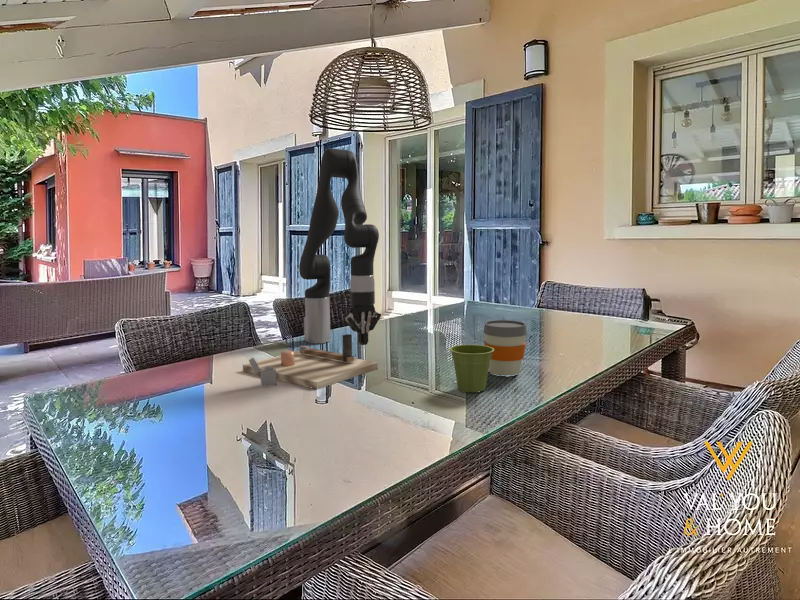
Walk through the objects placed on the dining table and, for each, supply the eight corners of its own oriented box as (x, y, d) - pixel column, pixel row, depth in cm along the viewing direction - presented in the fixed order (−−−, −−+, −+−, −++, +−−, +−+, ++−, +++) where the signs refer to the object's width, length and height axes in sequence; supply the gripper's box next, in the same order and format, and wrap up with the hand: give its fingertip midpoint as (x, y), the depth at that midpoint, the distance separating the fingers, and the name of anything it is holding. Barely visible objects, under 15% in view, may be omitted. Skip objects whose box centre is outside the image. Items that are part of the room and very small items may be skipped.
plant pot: (500, 387, 146) (501, 346, 144) (482, 399, 136) (483, 355, 135) (461, 381, 152) (461, 342, 151) (441, 391, 142) (441, 350, 141)
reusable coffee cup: (494, 365, 169) (495, 318, 167) (532, 371, 161) (533, 322, 159) (475, 374, 159) (476, 324, 157) (515, 381, 151) (516, 329, 149)
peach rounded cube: (278, 365, 163) (277, 352, 163) (288, 362, 167) (288, 349, 166) (287, 367, 161) (286, 354, 160) (297, 364, 164) (296, 351, 164)
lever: (298, 352, 176) (297, 328, 175) (304, 351, 178) (304, 327, 177) (347, 362, 163) (347, 336, 162) (354, 360, 165) (354, 335, 164)
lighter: (276, 383, 151) (275, 355, 150) (276, 385, 150) (275, 357, 149) (250, 385, 149) (248, 357, 148) (250, 387, 148) (248, 359, 147)
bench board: (242, 371, 164) (242, 364, 164) (305, 354, 185) (305, 349, 185) (317, 389, 145) (316, 382, 145) (377, 368, 166) (377, 362, 166)
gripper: (372, 287, 173) (373, 339, 175) (337, 290, 165) (339, 345, 167) (386, 289, 167) (387, 343, 169) (351, 292, 159) (352, 349, 161)
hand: (363, 344), depth 168 cm, fingers closed
